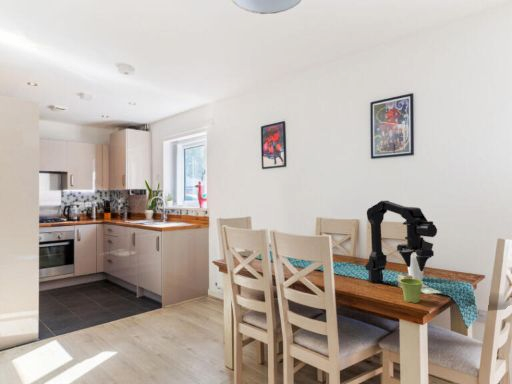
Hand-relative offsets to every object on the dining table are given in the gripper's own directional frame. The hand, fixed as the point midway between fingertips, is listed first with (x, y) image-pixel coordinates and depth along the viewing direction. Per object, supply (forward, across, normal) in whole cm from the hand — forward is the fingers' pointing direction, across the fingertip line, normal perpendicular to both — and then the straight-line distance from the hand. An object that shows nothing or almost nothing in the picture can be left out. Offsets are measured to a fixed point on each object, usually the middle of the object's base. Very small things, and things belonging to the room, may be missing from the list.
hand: (415, 268), depth 151 cm
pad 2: (+12, +5, -10) cm, 17 cm away
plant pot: (+13, -5, +6) cm, 15 cm away
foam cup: (+12, +25, -18) cm, 33 cm away
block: (+12, +13, -4) cm, 19 cm away
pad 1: (+12, +14, -11) cm, 22 cm away
